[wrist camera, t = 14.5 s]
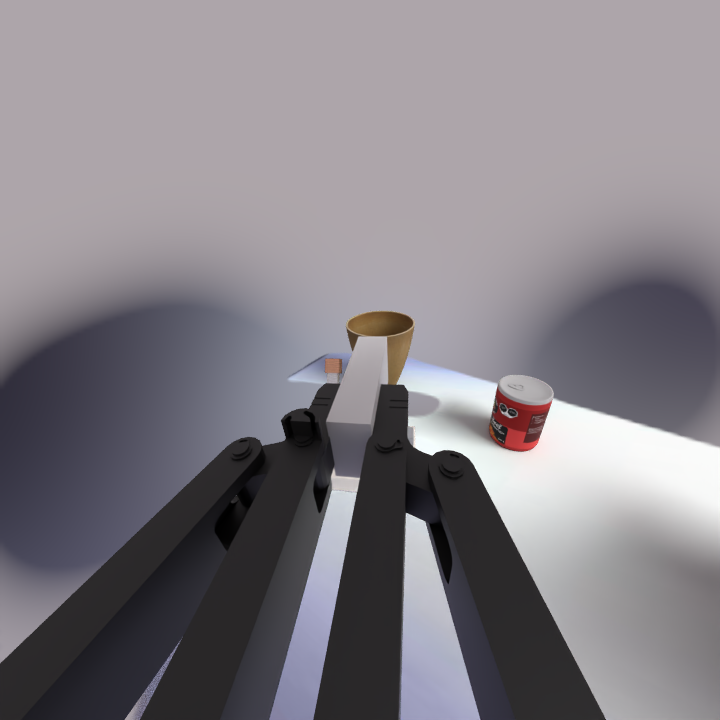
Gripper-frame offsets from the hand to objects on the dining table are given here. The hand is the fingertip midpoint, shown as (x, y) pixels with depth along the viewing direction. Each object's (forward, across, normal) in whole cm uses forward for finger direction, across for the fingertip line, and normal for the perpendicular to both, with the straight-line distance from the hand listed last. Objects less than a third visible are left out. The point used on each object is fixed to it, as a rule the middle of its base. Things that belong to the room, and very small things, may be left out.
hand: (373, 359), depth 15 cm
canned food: (+28, +20, -32) cm, 47 cm away
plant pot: (+44, -5, -32) cm, 54 cm away
